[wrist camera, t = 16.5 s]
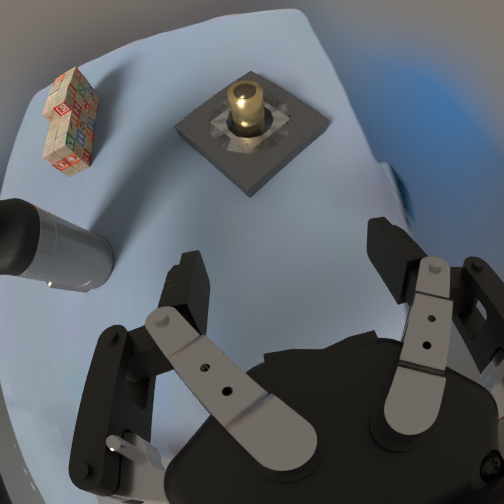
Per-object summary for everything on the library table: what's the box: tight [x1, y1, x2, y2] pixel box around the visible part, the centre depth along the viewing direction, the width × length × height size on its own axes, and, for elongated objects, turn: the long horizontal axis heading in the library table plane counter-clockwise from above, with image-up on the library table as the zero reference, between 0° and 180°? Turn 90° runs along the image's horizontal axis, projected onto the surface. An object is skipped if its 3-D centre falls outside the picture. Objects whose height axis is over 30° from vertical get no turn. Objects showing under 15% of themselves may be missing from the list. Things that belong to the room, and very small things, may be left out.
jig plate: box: [174, 71, 328, 198], centre depth 42 cm, size 18×18×3 cm
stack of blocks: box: [43, 67, 100, 177], centre depth 42 cm, size 21×6×12 cm, turn 12°
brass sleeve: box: [227, 80, 266, 139], centre depth 39 cm, size 5×5×10 cm
